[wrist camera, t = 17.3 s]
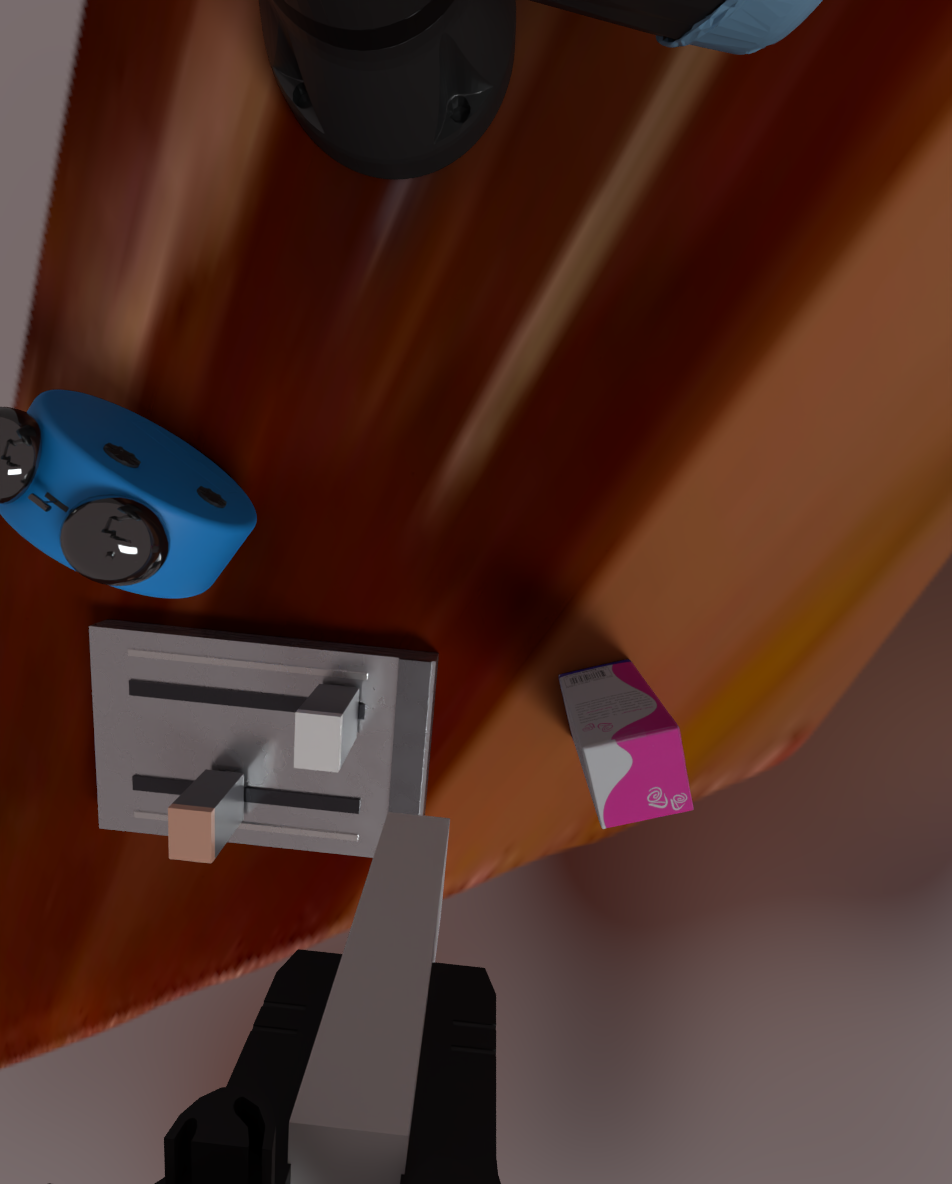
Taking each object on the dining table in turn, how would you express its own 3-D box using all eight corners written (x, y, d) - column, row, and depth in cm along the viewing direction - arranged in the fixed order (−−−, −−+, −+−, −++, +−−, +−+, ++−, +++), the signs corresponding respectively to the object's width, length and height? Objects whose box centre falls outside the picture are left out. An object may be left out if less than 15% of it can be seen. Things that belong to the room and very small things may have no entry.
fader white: (319, 683, 42) (295, 712, 37) (359, 687, 42) (340, 716, 37) (317, 733, 42) (293, 767, 37) (356, 737, 42) (338, 772, 37)
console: (107, 619, 44) (85, 627, 41) (438, 653, 43) (435, 662, 41) (115, 813, 47) (96, 830, 45) (422, 846, 47) (418, 865, 45)
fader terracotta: (205, 769, 43) (167, 807, 38) (243, 773, 43) (211, 812, 38) (205, 815, 44) (169, 858, 39) (243, 819, 44) (211, 863, 39)
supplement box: (573, 742, 44) (599, 832, 33) (557, 673, 43) (578, 743, 32) (645, 726, 44) (696, 813, 33) (631, 656, 43) (679, 721, 32)
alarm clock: (98, 467, 41) (-121, 463, 27) (142, 399, 40) (-61, 356, 25) (243, 579, 43) (110, 635, 28) (290, 516, 41) (177, 540, 27)
